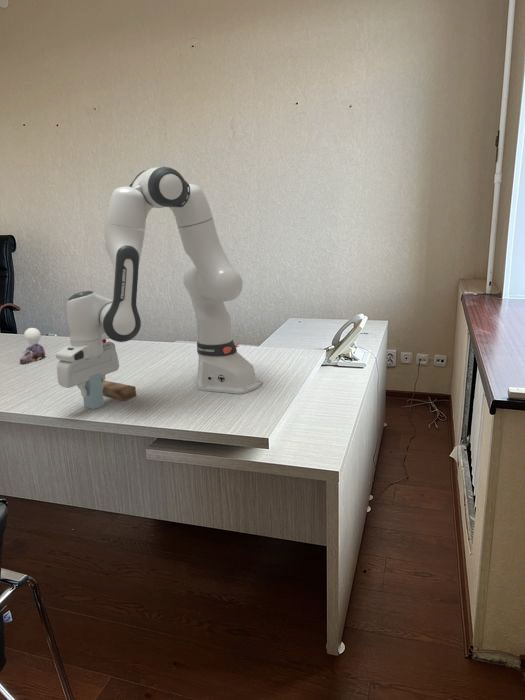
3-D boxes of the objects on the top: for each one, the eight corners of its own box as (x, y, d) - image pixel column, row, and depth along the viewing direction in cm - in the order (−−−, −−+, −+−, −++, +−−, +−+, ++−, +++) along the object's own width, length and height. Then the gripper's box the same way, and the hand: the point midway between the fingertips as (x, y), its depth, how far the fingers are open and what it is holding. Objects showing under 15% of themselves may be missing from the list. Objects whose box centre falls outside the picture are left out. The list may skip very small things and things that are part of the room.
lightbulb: (39, 355, 215) (35, 329, 212) (23, 356, 215) (19, 329, 213) (45, 351, 222) (42, 325, 219) (30, 352, 222) (27, 326, 219)
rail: (136, 395, 166) (135, 386, 165) (124, 400, 162) (123, 391, 161) (100, 388, 174) (99, 379, 173) (88, 392, 170) (87, 383, 169)
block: (104, 405, 159) (100, 372, 156) (93, 409, 156) (89, 376, 153) (94, 402, 161) (90, 370, 158) (84, 407, 158) (80, 374, 155)
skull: (27, 366, 201) (25, 351, 200) (12, 365, 204) (9, 349, 202) (50, 358, 212) (48, 343, 211) (34, 356, 215) (32, 342, 213)
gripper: (106, 338, 164) (111, 381, 167) (51, 355, 147) (57, 402, 151) (121, 340, 161) (125, 384, 164) (66, 358, 144) (72, 405, 147)
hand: (92, 393), depth 157 cm, fingers closed on block, 4 cm apart
